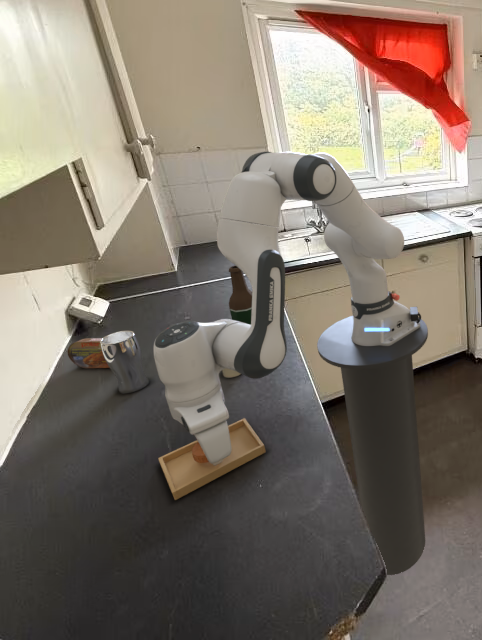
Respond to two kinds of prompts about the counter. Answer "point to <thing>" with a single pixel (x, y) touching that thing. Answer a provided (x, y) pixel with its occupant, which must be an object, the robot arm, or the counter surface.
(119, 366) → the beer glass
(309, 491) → the counter surface
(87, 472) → the counter surface
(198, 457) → the lid
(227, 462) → the tray
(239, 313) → the beer bottle
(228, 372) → the jar
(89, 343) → the tin
